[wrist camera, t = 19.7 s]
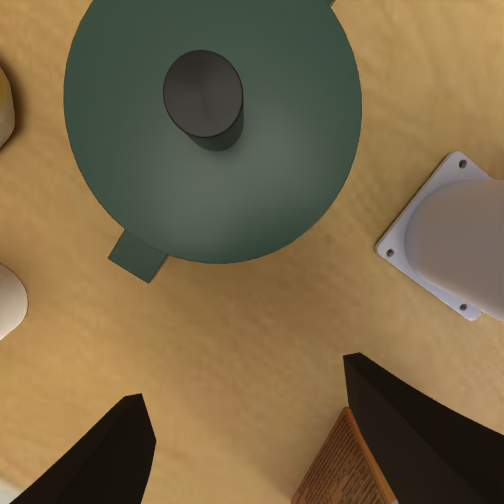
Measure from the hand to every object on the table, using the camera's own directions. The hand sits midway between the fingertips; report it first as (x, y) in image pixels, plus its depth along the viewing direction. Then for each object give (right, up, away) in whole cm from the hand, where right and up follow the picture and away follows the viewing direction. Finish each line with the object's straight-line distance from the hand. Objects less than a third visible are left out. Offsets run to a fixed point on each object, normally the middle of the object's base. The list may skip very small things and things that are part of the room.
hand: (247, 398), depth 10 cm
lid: (-1, +11, +2) cm, 11 cm away
